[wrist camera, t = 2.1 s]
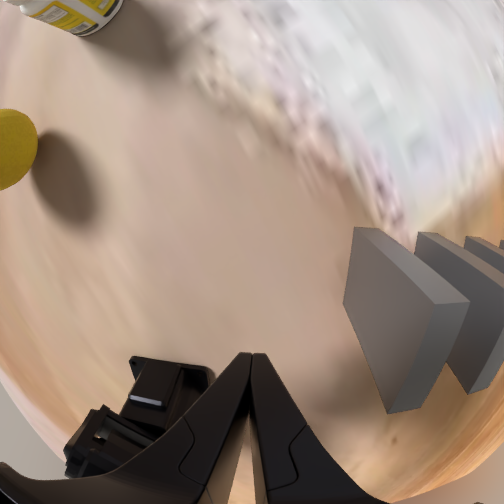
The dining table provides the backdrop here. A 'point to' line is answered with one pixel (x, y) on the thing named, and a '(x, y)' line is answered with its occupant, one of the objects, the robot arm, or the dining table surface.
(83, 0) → the supplement bottle
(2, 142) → the lemon
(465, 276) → the domino
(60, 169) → the dining table surface
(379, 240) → the domino
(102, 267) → the dining table surface
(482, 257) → the domino
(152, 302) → the dining table surface
